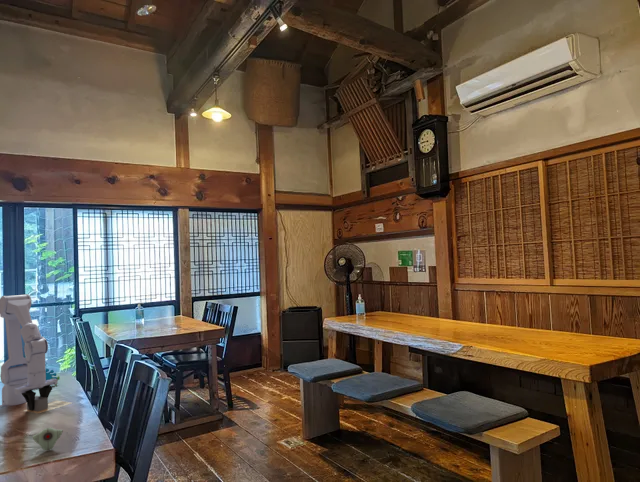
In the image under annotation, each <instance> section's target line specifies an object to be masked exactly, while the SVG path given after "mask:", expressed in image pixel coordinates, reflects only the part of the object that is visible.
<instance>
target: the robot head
mask: <svg viewBox="0 0 640 482" xmlns="http://www.w3.org/2000/svg"><path fill="white" fill-rule="evenodd" d="M63 432H64V429H57V428H53V427H45V428H44V429H42V430H41V431H40V432H37V433H36V434H34V435H32V436H31V438H32V440H33V441H34V443H35V442H36V444H37V445H39V446H40V448H41V449H42V450H43V451H50V450H52V449H54V447H55V445H56V443H57V441H58V440H59V439H60V437H61V436H62V434H63Z"/></svg>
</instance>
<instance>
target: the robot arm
mask: <svg viewBox="0 0 640 482" xmlns="http://www.w3.org/2000/svg"><path fill="white" fill-rule="evenodd" d="M31 306H32V298H31V295H30V294H28V293H25V294H18V295H17V294H16V295H14V294H13V295H2V296H1V297H0V318H2V319H4V322H5V333H6V345H7V353H8V354H7V355H8V359H7V360H6V361H5V362H3V363H2V365H1V366H0V382H1V383H2V384H3V387H2V389H1V404H0V408H1V407H5V406H17V405H22V404H25V403H26V405H27V404H28V407H29V410H31V411H33V410H34V408H35V404H34V401H35V396H37V395H36V394H37V392H36V391H35V390H38V393H39V396H40V397H46V398H49V396H50V393H51V392H52V390H53V385H58V384H59V383H58V381H57V379H51V380H46V373H47V372H46V369H47V368H46V354H47V353H48V350H49V344H48V340H47V339H46V338H45V337H44V336H42V335H41V333H40V330H39V327H38V325H37V324H36V323H33V320H32V317H31V312H30V310H31ZM22 340H23V341H22ZM23 343H24V345H23ZM23 350H24V352H23ZM24 355H25V357H24Z"/></svg>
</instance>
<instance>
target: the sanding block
mask: <svg viewBox="0 0 640 482" xmlns="http://www.w3.org/2000/svg"><path fill="white" fill-rule="evenodd" d="M48 398H49V397H48ZM48 398H46V397H40V395H35V401H34V404H35V408H34V410H33V411H32V412H37V413H39V412H42V411H45V410H48V403H49V402H48V401H49V400H48ZM26 410H27V411H31V410H29V407H28V404H27V403H26ZM27 411H26V412H27ZM32 412H31V413H32ZM37 413H36V414H37Z"/></svg>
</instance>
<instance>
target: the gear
mask: <svg viewBox="0 0 640 482" xmlns="http://www.w3.org/2000/svg"><path fill="white" fill-rule="evenodd" d="M45 369H46V370H45V371H46V380H51V379H57V382H58V381H59V380H61V378H60V376H59V375H57V372H54V369H51V370H50V369H49V368H45Z"/></svg>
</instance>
